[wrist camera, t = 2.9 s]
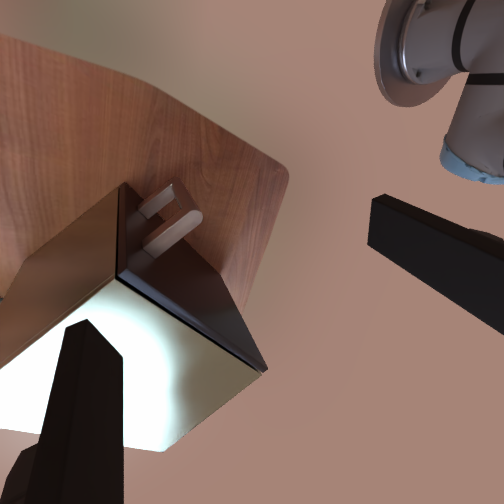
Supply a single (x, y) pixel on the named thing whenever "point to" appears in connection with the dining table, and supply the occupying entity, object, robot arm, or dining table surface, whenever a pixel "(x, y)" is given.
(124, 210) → the compartment door
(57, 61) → the dining table surface
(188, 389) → the storage compartment
